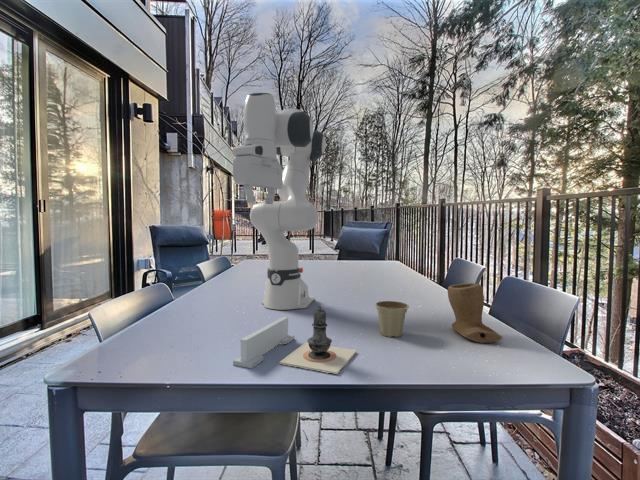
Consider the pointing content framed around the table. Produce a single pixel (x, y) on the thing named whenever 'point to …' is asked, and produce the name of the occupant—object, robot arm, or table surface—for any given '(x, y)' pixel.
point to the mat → (331, 364)
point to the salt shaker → (319, 337)
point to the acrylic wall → (262, 343)
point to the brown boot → (470, 312)
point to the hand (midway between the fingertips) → (260, 203)
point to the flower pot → (391, 317)
